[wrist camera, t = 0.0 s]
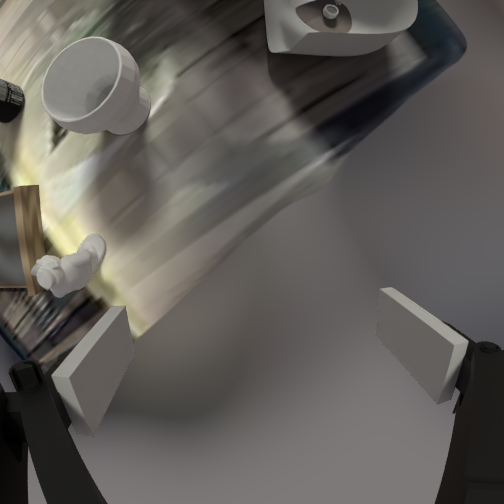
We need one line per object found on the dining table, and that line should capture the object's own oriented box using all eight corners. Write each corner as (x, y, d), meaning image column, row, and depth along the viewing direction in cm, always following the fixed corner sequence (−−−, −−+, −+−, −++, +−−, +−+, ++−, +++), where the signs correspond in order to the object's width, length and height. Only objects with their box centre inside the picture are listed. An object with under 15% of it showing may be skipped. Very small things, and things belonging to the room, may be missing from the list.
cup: (153, 147, 39) (114, 128, 24) (86, 143, 38) (27, 129, 23) (167, 75, 37) (139, 28, 22) (100, 75, 36) (51, 38, 21)
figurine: (82, 220, 40) (38, 233, 29) (115, 246, 42) (78, 268, 30) (58, 269, 42) (15, 293, 30) (89, 294, 43) (51, 326, 31)
